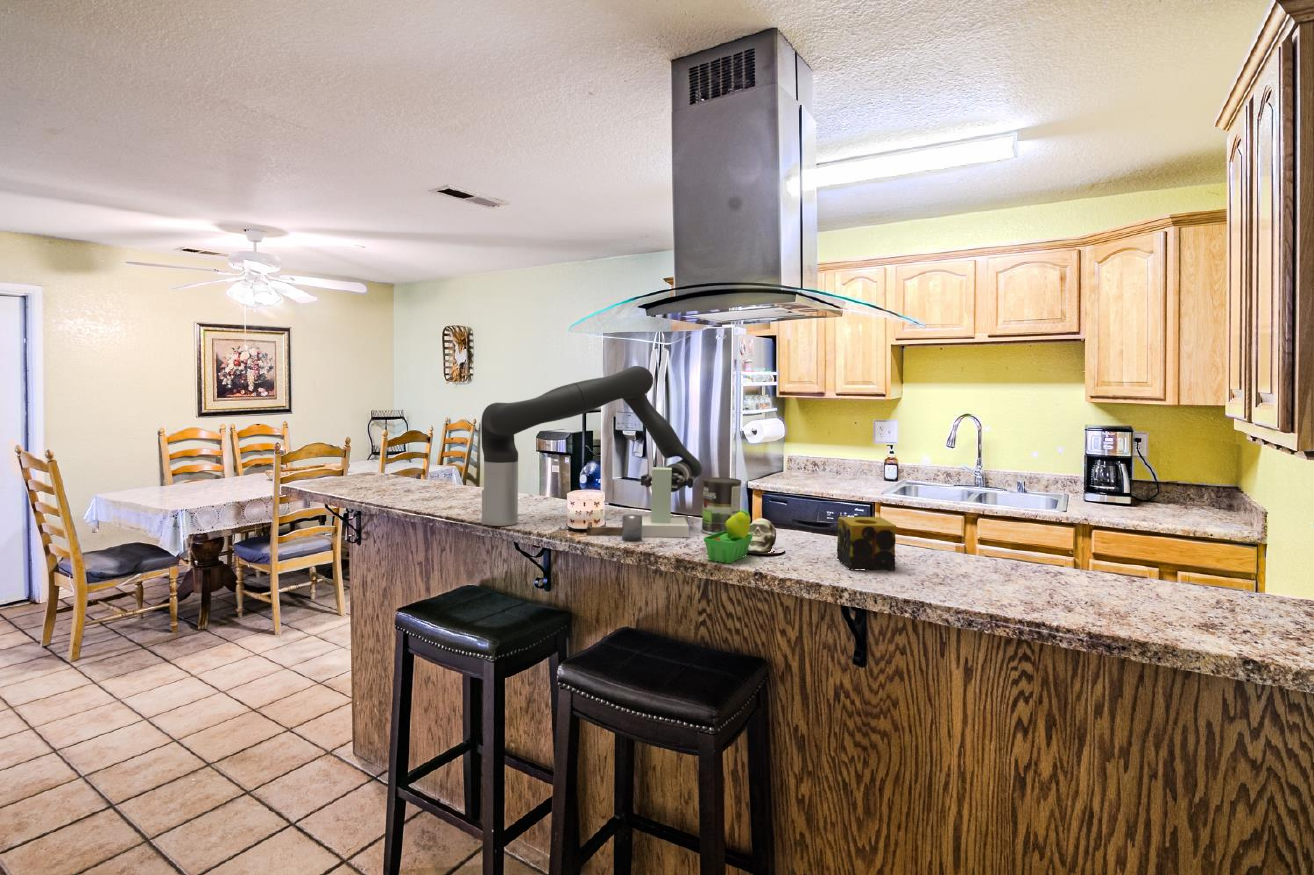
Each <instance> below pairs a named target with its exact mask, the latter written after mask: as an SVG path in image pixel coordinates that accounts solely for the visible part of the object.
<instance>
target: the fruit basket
mask: <svg viewBox="0 0 1314 875" xmlns="http://www.w3.org/2000/svg"><path fill="white" fill-rule="evenodd" d="M750 524H751V516H750V513H749V512H748V511H747V510H745V509H740V511H739V512H738V513H737V514H735V515H734V516H732V517H730V519H728V520H727V521H726V523H725V526H726V529H727V531H721V532H719V533H716V534H713V535H711V534H709V535H708V536H706V537H705V536H704V537H703V541H704V543H705V547H706V551H707V556H708V560H709V561H711V560H714V561H713V562H717V561H719V562H718V563H724V562H726V563H725V564H732V563H733V561H734V562H736V561H738V560H740V558H741V559H742V558H744V557H743V556H745V555H746V556H747V554H748V552H747V551H748V548H749V545H750V541H751V539H752V537H753V535H752V534H748V533H749V530H750ZM746 556H745V557H746ZM737 559H738V560H737ZM735 560H736V561H735Z"/></svg>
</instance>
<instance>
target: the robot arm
mask: <svg viewBox="0 0 1314 875" xmlns="http://www.w3.org/2000/svg"><path fill="white" fill-rule="evenodd" d="M653 384H654V376H653V374H652V372H651V371H650V370H649V369H648V368H646V367H645V366H640V365H633V366H631V367H630V366H629V367H628V368H626V369H624V370H621V371H619V372H616V373H614V374H611V375H608V376H603V377H597V378H592V379H586V380H585V379H584V380H582V381H577V382H572V383H569V384H564V385H561V386H557V387H556V388H553V389H550V390H548V391H546V392H545V393H543V394H541V395H538V396H536V397H534V398H530V399H526V400H521V401H514V402H493V403H490V404H489V405H487V406H486V407H485V408H484V410H483V411H482V415H481V420H480V421H481V422H480V423H481V425H480V426H481V427H480V428H481V431H480V432H481V434H480V435H481V449H482V454H483V489H482V490H481V525H483V526H484V525H487V526H494V527H501V526H502V527H503V526H505V527H506V526H513V525H516V524H518V523H519V522H518V521H519V520H518V519H519V518H518V517H519V513H518V512H519V452H518V449H517V447H516V444H515V435H517V434H519V433H521V432H524V431H526V430H528V429H531V428H533V427H536V426H538V425H542V424H545V423H550V422H557V421H562V420H564V419H568V418H573V417H576V416H579V415H583V414H586V413H589V412H591V411H594V410H595V409H598V408H601V407H603V406H604V405H607V404H609V403H612V402H614V401H618V400H620V399H622V400H623V401H624V402H625V403H626V404H627V405H628V407H629V408H630V409H631V411H632V412H633V413H634V414H635V416H636V417H637V418H638V420H639V421H640V423H642V425H643V426H644V428H645V430H646V431H647V432H648V434H649V435H650V437H651V439H652V440H653V442H654V444H655V446H656V447H657V449H658V450H659V453H660V454H661V455H662V457H663V458H664V459H671V458H674V457H679V458H681V459H680V460H679V461H677V462H673V463H669V465H666V466H665V467H663V468H672V478H671V493H675V492H678V491H680V490H681V489H684V488H686V487H687V488H688V489H692V488H694V486H695V479H697V478H698V477H700V476H701V474H702V472H703V467H702V464H701V463H700V461H699V460H698V459H697V457H695V455H693V454H692V453H691V452H690V451H689V450H688V449H687V448H686V447H685V446H684V445H683V442H682V441H681V440H680V438H679V436H678V434H677V433H676V431H675V430H674V428H673V427H672V425H671V424H670V422H668V420H667V419H666V418H665V417H664V416H662V415H661V413H660V412H658V410H656V408H655V407H654V406H653V405H652V403H651V402H650V401H649V399H648V397H647V395H646V394H648V393H649V391H650V390H651V389H652V387H653ZM640 486H642V487H644V486H645V488H650V487H652V474H650V473H646V474H643V475H641V476H640Z"/></svg>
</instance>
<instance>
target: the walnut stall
mask: <svg viewBox="0 0 1314 875" xmlns="http://www.w3.org/2000/svg"><path fill="white" fill-rule="evenodd" d="M586 536H621V537H622V526H593V527H592V522H589V521H588V523H587V526H586Z"/></svg>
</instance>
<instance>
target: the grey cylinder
mask: <svg viewBox="0 0 1314 875" xmlns="http://www.w3.org/2000/svg"><path fill="white" fill-rule="evenodd" d="M621 517H622V519H621V521H622V522H621V523H622V524H621V527H622V536H621V541H624V542H634V543H635V542H640V541H642V539H643V537H642V517H643V515H642V514H638V513H636V514H635V513H631V514H630V513H628V514H627V513H626V514H623V515H622V516H621Z"/></svg>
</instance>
